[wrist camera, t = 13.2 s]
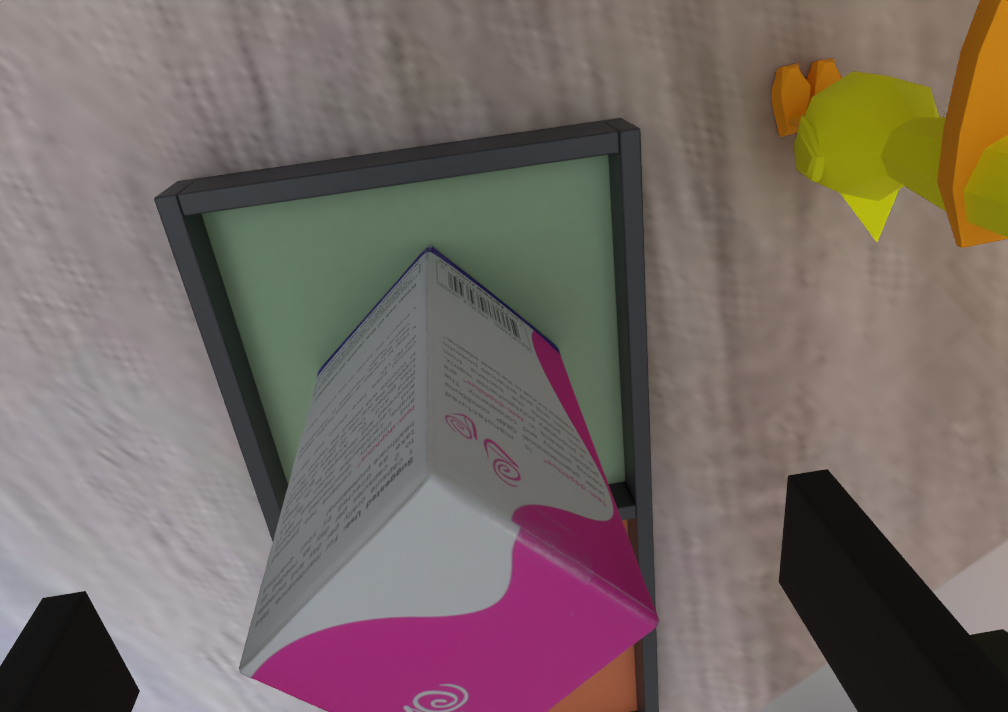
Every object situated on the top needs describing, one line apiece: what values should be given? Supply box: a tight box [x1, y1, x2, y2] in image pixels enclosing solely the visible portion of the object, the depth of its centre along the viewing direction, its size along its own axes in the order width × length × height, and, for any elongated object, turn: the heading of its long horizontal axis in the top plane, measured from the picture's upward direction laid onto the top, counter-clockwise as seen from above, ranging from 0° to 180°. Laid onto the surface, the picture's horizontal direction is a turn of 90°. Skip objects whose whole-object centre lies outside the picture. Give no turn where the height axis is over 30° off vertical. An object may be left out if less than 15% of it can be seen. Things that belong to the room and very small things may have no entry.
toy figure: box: [771, 0, 1008, 248], centre depth 16 cm, size 7×4×12 cm, turn 9°
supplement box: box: [239, 245, 659, 712], centre depth 18 cm, size 6×6×12 cm
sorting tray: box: [154, 118, 659, 712], centre depth 25 cm, size 26×13×2 cm, turn 7°
